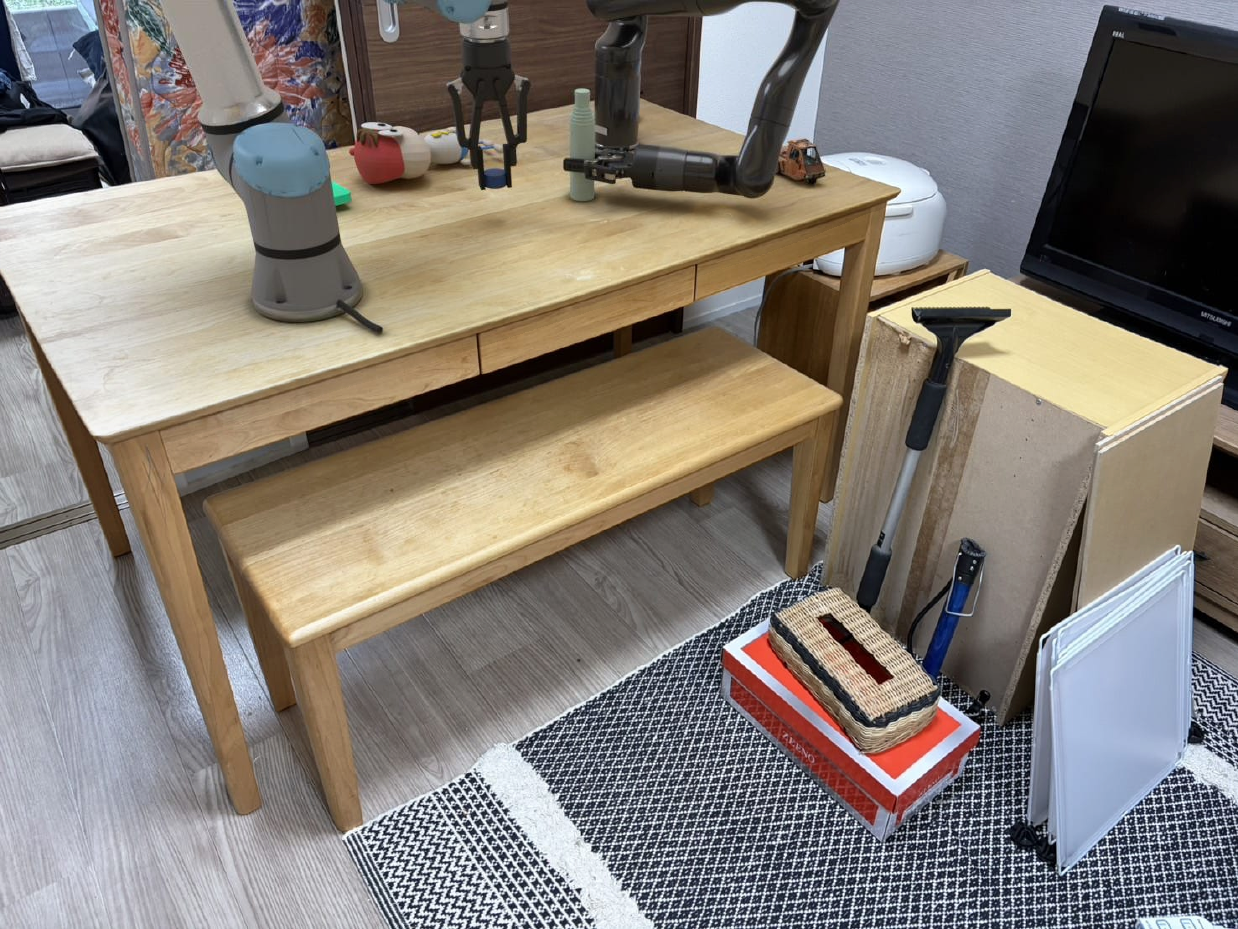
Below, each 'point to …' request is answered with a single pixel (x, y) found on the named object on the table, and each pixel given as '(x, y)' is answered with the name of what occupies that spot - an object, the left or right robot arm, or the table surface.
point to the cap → (495, 178)
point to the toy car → (800, 162)
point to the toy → (405, 151)
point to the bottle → (582, 144)
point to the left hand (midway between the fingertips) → (495, 185)
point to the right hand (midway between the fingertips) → (567, 159)
